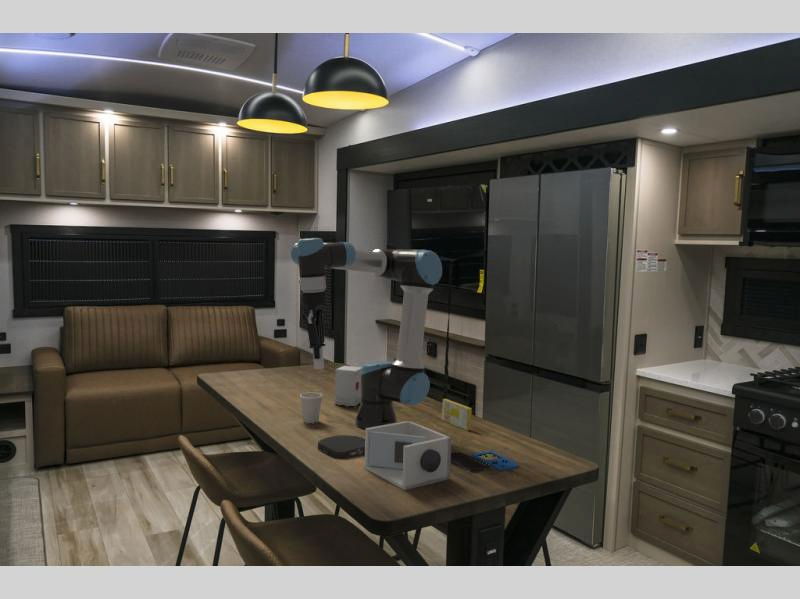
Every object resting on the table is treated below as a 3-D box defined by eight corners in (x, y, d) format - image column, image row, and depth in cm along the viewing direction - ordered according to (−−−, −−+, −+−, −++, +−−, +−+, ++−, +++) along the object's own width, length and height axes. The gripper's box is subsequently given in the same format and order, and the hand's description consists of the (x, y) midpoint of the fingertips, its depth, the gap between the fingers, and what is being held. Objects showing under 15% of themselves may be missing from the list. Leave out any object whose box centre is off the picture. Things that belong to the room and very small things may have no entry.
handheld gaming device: (500, 468, 188) (471, 453, 201) (500, 472, 188) (470, 456, 201) (522, 464, 192) (492, 449, 205) (522, 468, 192) (491, 453, 205)
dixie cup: (294, 422, 232) (295, 395, 231) (307, 417, 240) (308, 391, 239) (314, 425, 228) (314, 398, 228) (326, 420, 236) (326, 393, 235)
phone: (458, 451, 202) (491, 465, 190) (458, 455, 202) (491, 469, 190) (439, 456, 197) (471, 470, 185) (439, 459, 197) (471, 474, 185)
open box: (408, 492, 169) (409, 448, 168) (364, 468, 187) (365, 428, 186) (453, 480, 179) (455, 439, 178) (407, 458, 196) (408, 420, 195)
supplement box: (354, 407, 255) (355, 371, 254) (334, 405, 258) (334, 369, 257) (362, 402, 264) (363, 367, 262) (343, 400, 267) (343, 365, 265)
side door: (423, 472, 181) (424, 438, 180) (368, 466, 185) (369, 432, 184) (424, 470, 182) (425, 436, 181) (370, 464, 186) (370, 431, 185)
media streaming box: (350, 440, 214) (350, 431, 214) (376, 452, 203) (376, 443, 202) (313, 448, 205) (313, 439, 205) (337, 461, 193) (338, 451, 193)
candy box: (471, 430, 228) (472, 408, 227) (466, 431, 227) (467, 408, 226) (445, 419, 242) (446, 398, 241) (441, 420, 241) (441, 398, 240)
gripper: (307, 288, 194) (313, 363, 197) (294, 294, 181) (300, 374, 184) (331, 287, 193) (336, 363, 196) (320, 293, 180) (325, 374, 183)
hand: (319, 368), depth 190 cm, fingers closed
